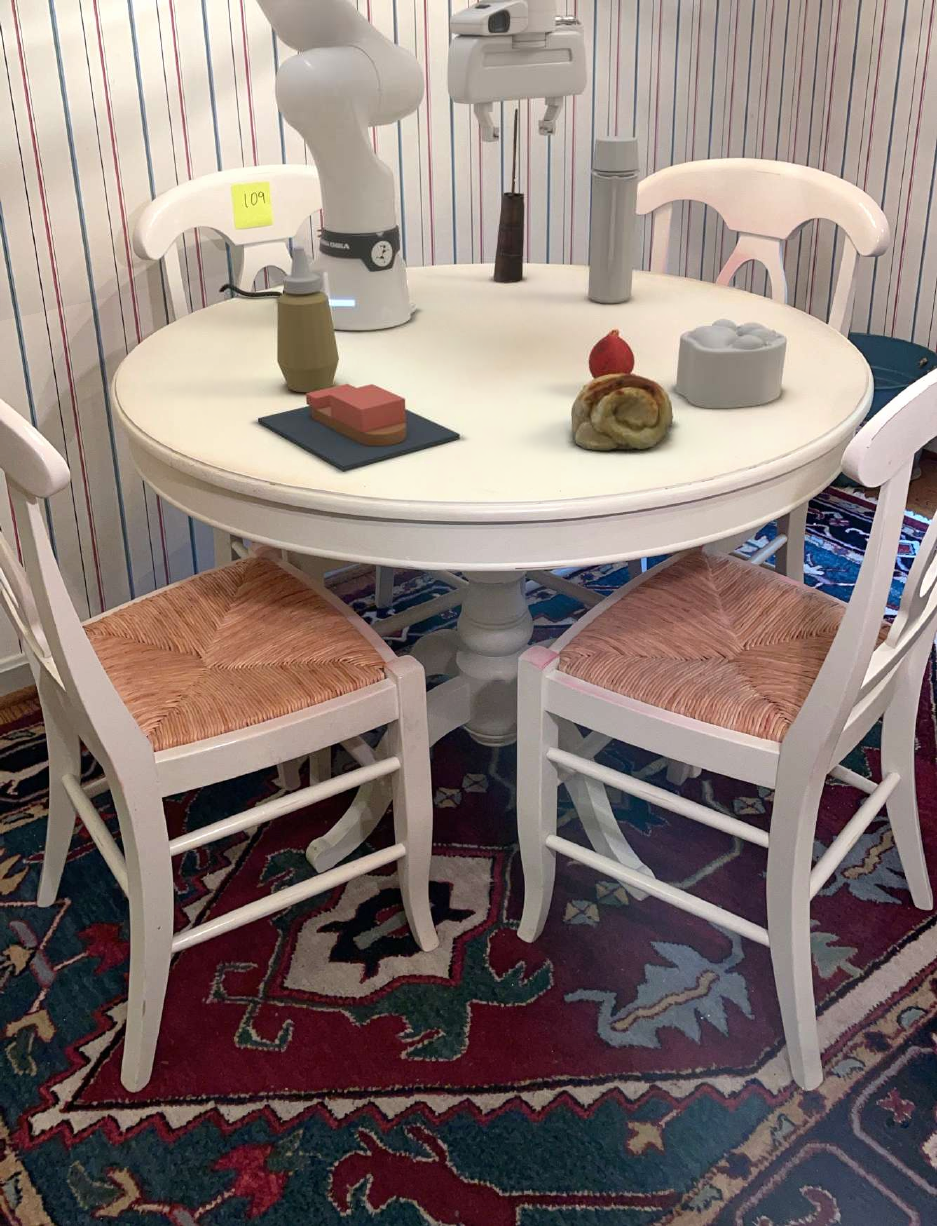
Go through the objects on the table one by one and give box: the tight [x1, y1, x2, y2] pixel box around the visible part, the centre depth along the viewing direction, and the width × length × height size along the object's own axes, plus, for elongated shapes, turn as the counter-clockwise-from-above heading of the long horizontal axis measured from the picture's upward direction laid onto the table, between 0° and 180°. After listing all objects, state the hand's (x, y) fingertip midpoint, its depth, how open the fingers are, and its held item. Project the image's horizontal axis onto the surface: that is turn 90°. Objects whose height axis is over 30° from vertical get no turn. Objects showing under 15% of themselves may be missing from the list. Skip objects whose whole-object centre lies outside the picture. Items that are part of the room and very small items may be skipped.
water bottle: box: [587, 135, 642, 305], centre depth 180 cm, size 9×8×25 cm
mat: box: [257, 405, 461, 472], centre depth 133 cm, size 20×16×1 cm
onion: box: [588, 328, 636, 380], centre depth 144 cm, size 6×6×8 cm
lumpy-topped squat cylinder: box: [675, 318, 788, 409], centre depth 141 cm, size 10×13×9 cm
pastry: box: [570, 372, 674, 451], centre depth 129 cm, size 14×12×8 cm
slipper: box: [305, 383, 407, 446], centre depth 132 cm, size 16×6×4 cm, turn 37°
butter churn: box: [493, 108, 525, 283], centre depth 192 cm, size 9×10×28 cm
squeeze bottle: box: [276, 246, 340, 393], centre depth 144 cm, size 8×8×18 cm
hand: (519, 138), depth 143 cm, fingers open, 8 cm apart
